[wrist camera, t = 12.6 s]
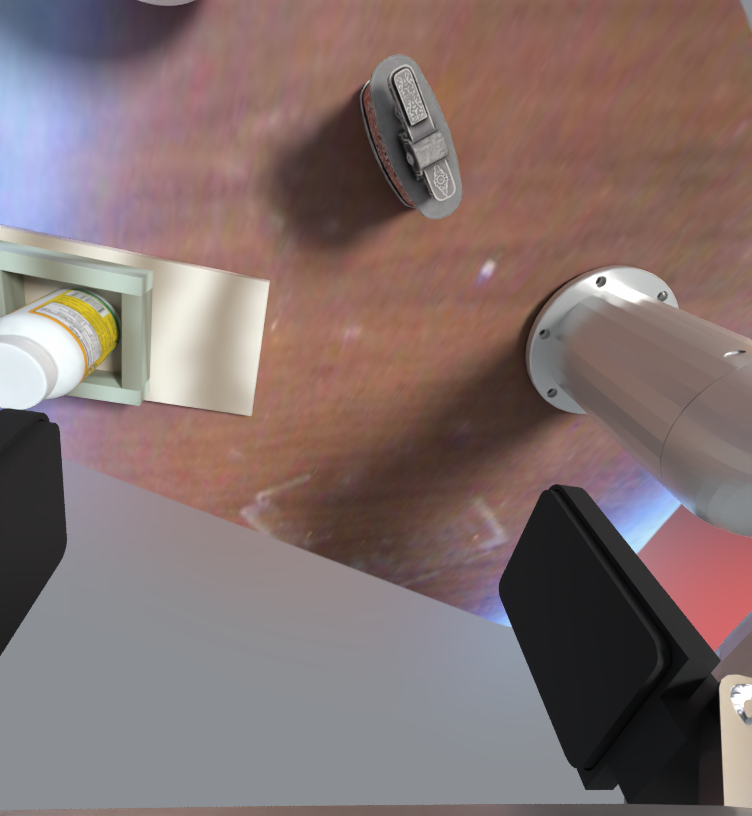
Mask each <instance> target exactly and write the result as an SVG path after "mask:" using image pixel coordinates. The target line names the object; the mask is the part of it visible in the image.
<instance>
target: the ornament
mask: <svg viewBox="0 0 752 816" xmlns="http://www.w3.org/2000/svg"><path fill="white" fill-rule="evenodd" d="M138 1H142V2H145V3H149V4H154V5H163V6H174V5H182V4H186V3H189V2H192V1H195V0H138Z"/></svg>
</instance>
